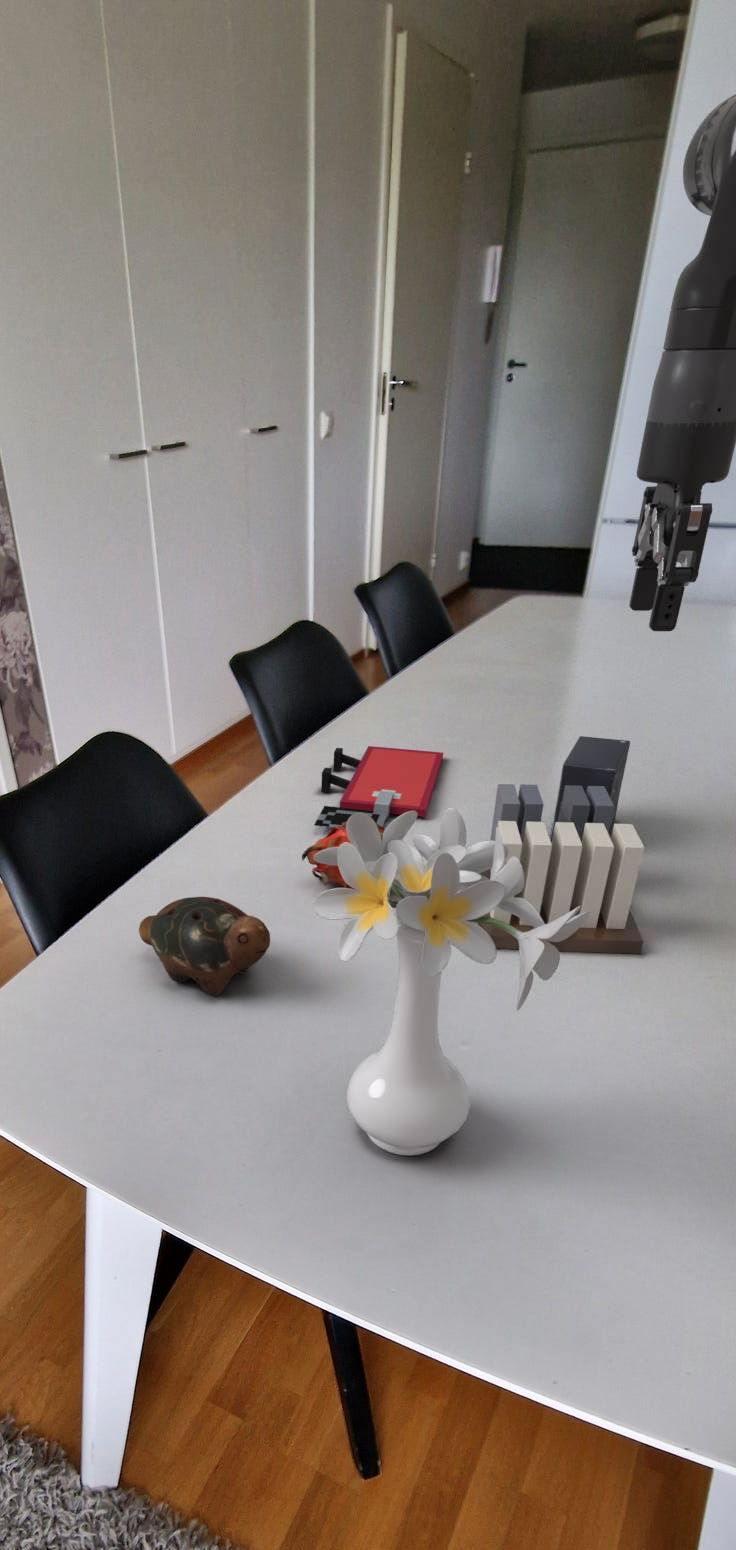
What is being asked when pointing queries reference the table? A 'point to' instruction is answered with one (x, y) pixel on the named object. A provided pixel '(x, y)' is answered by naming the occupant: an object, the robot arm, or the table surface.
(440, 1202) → the table surface
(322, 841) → the dragon fruit
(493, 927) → the board
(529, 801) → the grey books
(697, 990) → the table surface
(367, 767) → the red board with handle
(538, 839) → the white books
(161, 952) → the decorative turtle
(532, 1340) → the table surface
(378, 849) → the flower vase
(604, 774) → the small box
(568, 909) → the cream thin block
